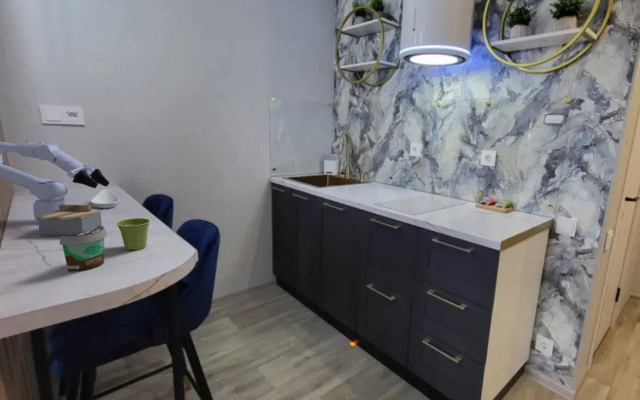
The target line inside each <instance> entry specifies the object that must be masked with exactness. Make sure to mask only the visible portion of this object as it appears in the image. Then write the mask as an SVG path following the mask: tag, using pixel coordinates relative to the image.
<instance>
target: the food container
mask: <svg viewBox="0 0 640 400" xmlns="http://www.w3.org/2000/svg"><path fill="white" fill-rule="evenodd" d="M107 235H108V234H107V230H106V229H105V227H104V226H103V225H102V226H100V225H97V228H96V229H93V230H90V231H84V232H80V233H78V234H76V235H74V236H60V239H59V245H62V251H63V253H64V259H65V263H66V268H67V271H68V272H85V271H90V270H93V269H94V270H95V269H96V268H99V267H102V265H104V264H105V238H107Z"/></svg>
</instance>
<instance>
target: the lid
mask: <svg viewBox="0 0 640 400" xmlns="http://www.w3.org/2000/svg"><path fill="white" fill-rule="evenodd" d="M98 212H101V209H100V208H97V209H96V208H95V209H93V208H92V204H65V205H64V204H62V205H59V210H56V211H53V212H50V213H47V214H44V215H41V216H38V219H69V220H82V219H84V218H87V217H89V216H91V215H94V214H96V213H98Z"/></svg>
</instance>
